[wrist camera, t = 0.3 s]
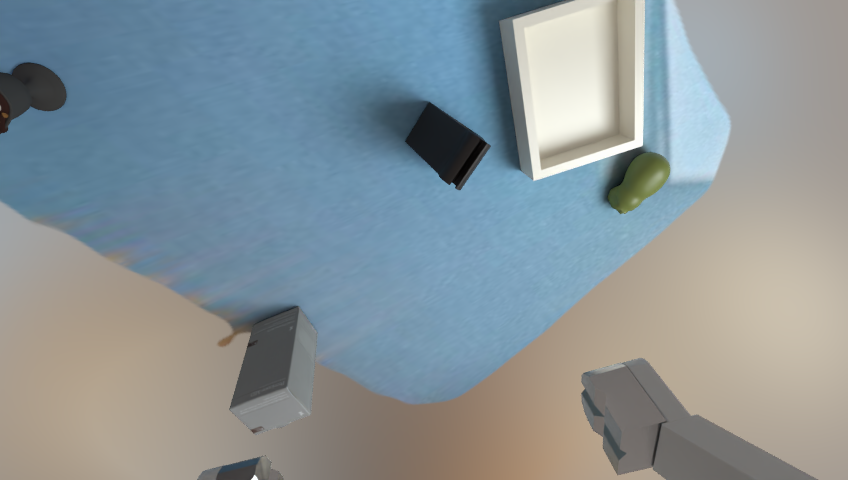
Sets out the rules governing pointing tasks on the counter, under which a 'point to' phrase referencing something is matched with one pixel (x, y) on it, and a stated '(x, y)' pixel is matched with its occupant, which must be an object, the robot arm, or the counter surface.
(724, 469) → the robot arm
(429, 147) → the phone stand
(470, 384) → the counter surface
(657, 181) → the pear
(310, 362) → the skincare box
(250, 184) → the counter surface
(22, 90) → the sundae
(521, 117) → the tray
